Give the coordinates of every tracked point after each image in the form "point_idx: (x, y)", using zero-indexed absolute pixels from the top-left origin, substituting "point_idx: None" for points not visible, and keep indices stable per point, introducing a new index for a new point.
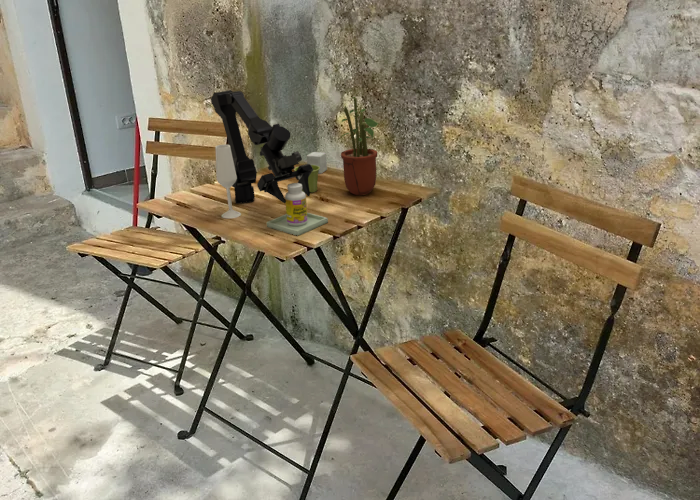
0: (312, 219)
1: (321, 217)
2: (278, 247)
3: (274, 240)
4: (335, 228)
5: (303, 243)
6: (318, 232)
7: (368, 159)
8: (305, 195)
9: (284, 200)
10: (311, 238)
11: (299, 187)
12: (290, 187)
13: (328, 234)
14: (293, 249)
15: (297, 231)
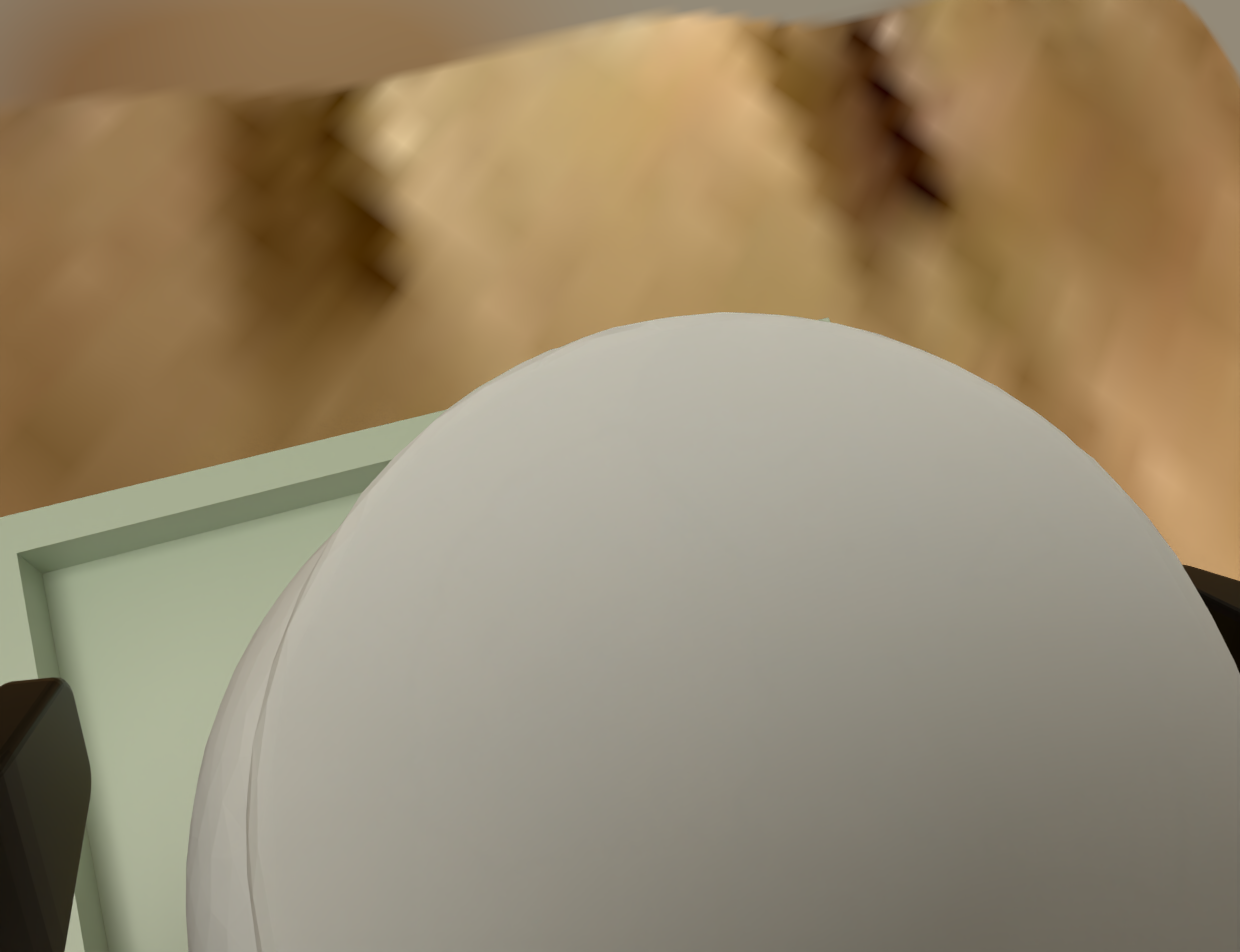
0: (177, 852)
1: (36, 657)
2: (1182, 197)
3: (1171, 442)
4: (107, 235)
5: (838, 94)
6: (445, 276)
7: None
8: (316, 553)
9: (1220, 576)
10: (661, 158)
11: (660, 327)
12: (1172, 553)
13: (365, 117)
14: (1026, 30)
15: (823, 319)
